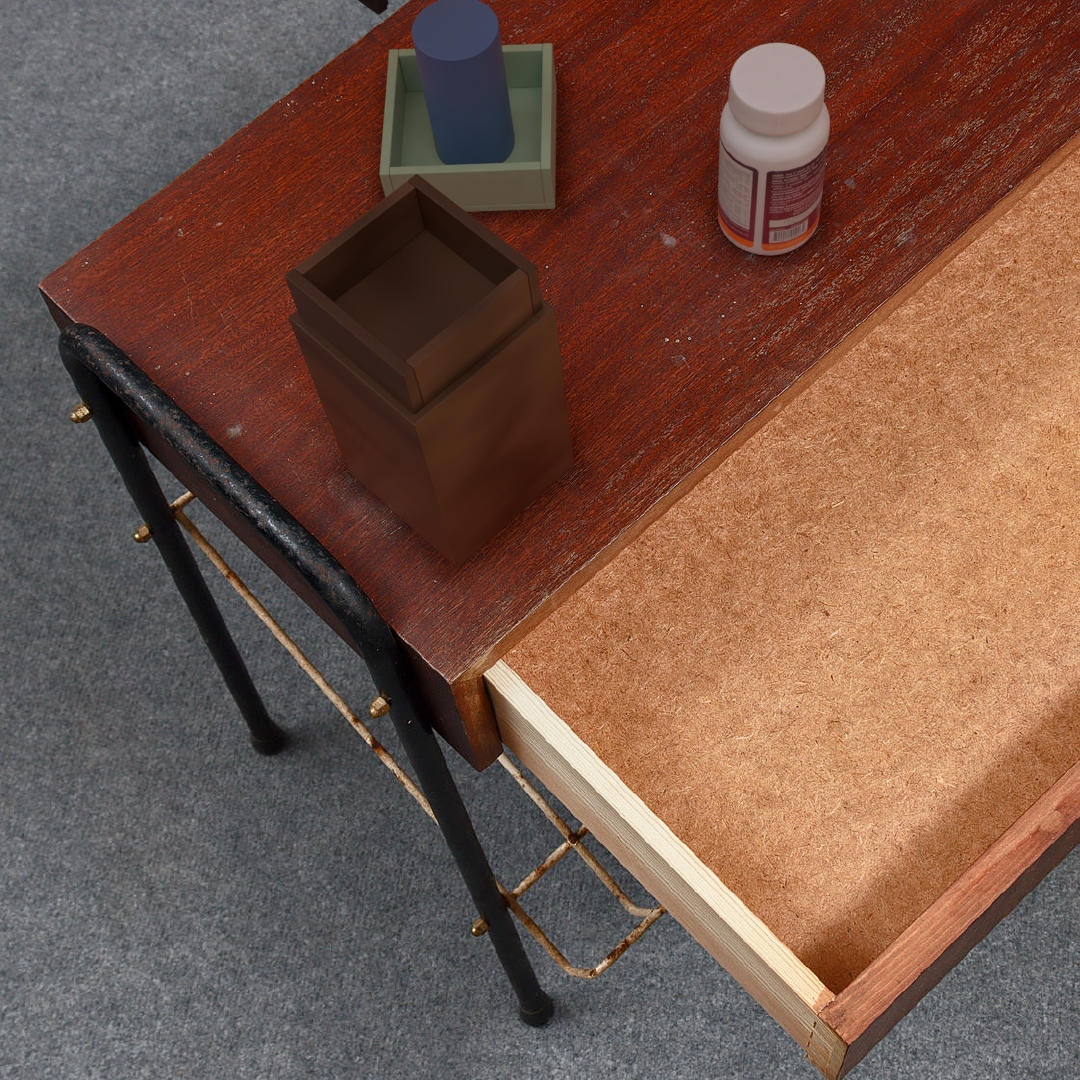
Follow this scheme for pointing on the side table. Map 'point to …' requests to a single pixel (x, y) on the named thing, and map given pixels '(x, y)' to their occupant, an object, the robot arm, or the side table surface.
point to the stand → (435, 366)
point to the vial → (464, 81)
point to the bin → (476, 185)
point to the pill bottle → (773, 149)
